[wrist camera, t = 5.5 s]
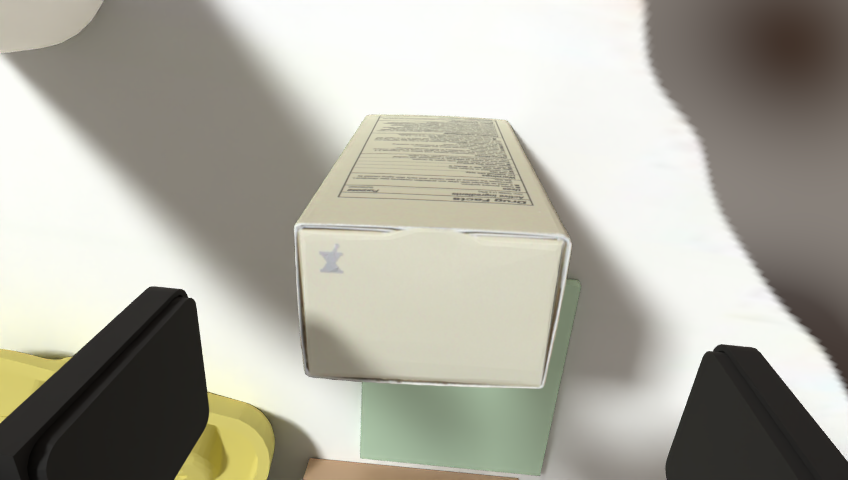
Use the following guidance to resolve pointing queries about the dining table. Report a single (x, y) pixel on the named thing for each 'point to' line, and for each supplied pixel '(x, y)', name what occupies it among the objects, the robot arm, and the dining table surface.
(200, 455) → the plastic component
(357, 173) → the skincare box
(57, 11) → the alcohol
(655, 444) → the dining table surface
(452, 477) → the mounted unit
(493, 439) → the mat
